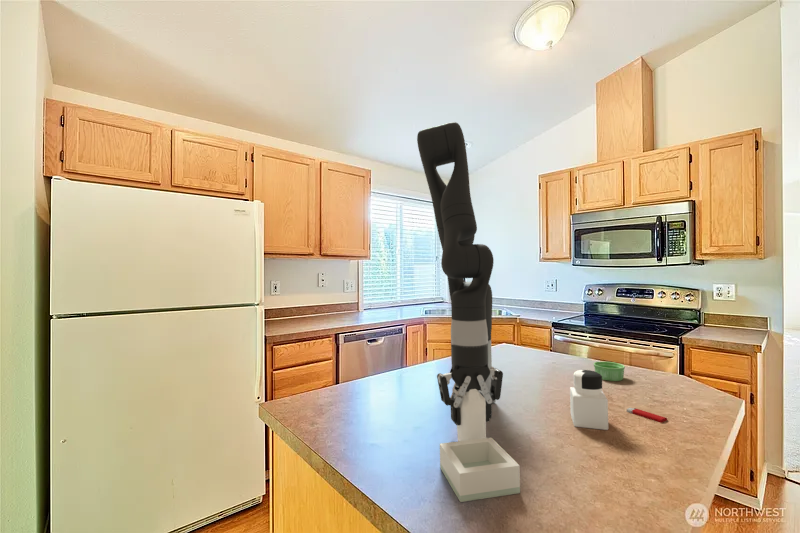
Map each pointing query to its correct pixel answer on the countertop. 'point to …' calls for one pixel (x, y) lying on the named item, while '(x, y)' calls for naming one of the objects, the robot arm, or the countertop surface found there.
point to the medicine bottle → (588, 401)
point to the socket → (479, 469)
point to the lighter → (647, 415)
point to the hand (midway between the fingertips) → (471, 421)
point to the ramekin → (610, 370)
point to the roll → (472, 416)
